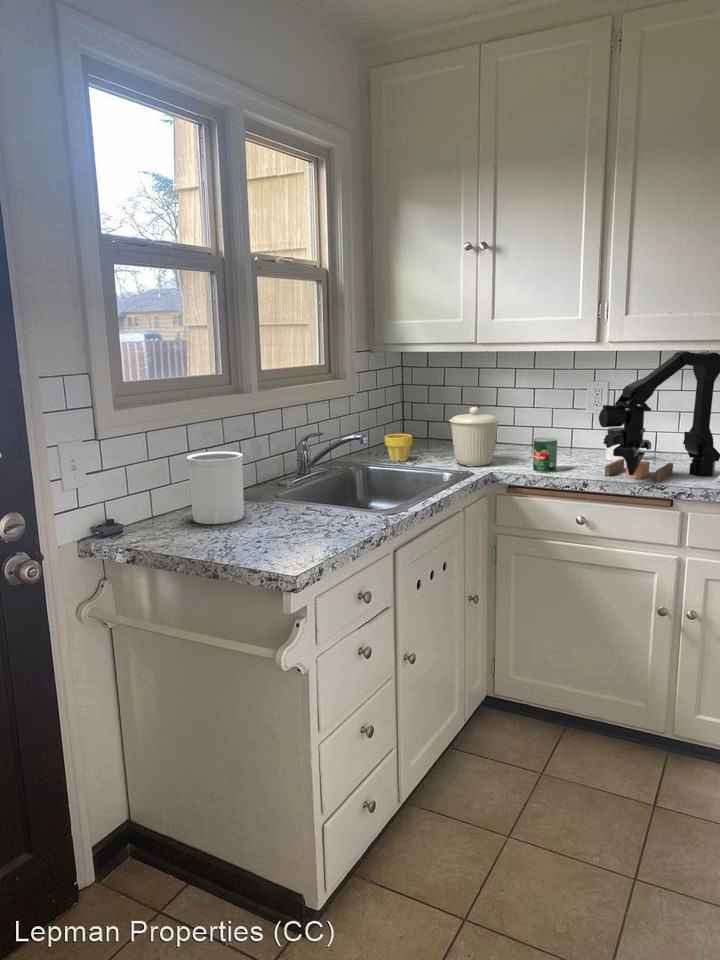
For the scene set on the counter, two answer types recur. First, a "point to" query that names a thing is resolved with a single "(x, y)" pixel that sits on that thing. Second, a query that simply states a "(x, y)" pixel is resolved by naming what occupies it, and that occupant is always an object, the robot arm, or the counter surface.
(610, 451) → the jar
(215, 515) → the utensil holder
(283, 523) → the counter surface
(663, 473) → the brown wooden tray
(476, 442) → the canister
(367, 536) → the counter surface
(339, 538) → the counter surface
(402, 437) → the plant pot
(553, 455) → the canned tomato
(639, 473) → the peach rectangular block
